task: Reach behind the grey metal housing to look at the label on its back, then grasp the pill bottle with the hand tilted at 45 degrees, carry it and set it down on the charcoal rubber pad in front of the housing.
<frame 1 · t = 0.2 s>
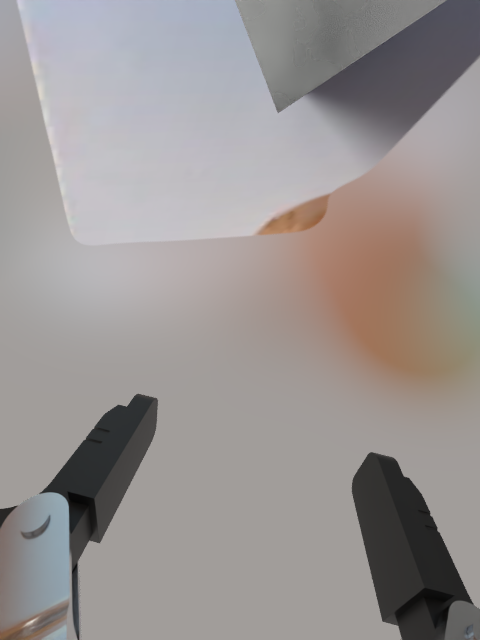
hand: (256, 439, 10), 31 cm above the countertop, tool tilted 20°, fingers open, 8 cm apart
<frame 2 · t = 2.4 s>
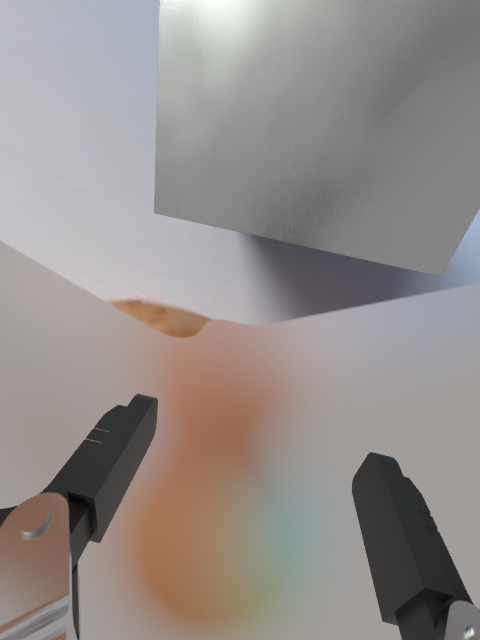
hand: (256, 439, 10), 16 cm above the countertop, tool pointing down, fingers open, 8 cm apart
housing: (303, 156, 19), on the countertop
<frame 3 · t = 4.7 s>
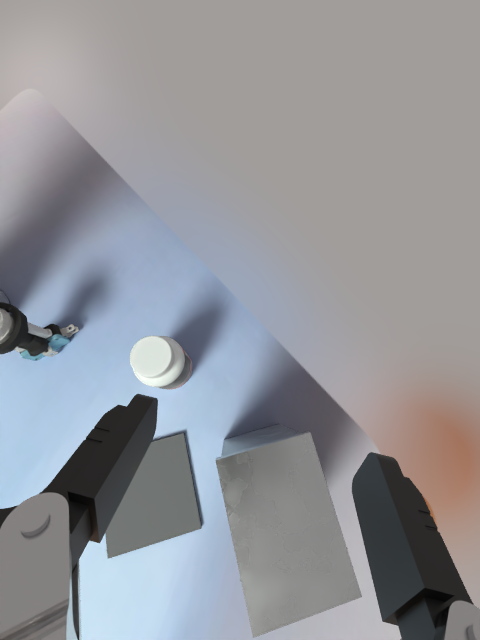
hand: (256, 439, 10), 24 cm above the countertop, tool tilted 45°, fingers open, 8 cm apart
pill bottle: (172, 368, 35), on the countertop
pad: (149, 490, 30), on the countertop
housing: (263, 476, 31), on the countertop
push button: (57, 343, 35), on the countertop
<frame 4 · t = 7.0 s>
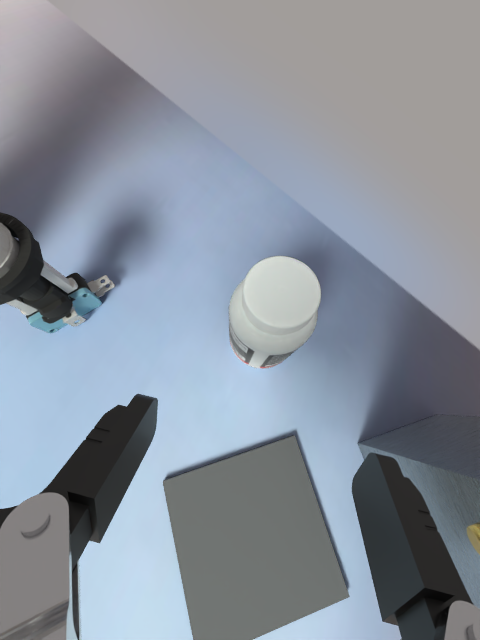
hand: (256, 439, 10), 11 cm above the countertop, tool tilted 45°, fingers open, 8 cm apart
pill bottle: (260, 338, 23), on the countertop
pad: (251, 533, 18), on the countertop
housing: (429, 499, 19), on the countertop
push button: (82, 307, 23), on the countertop
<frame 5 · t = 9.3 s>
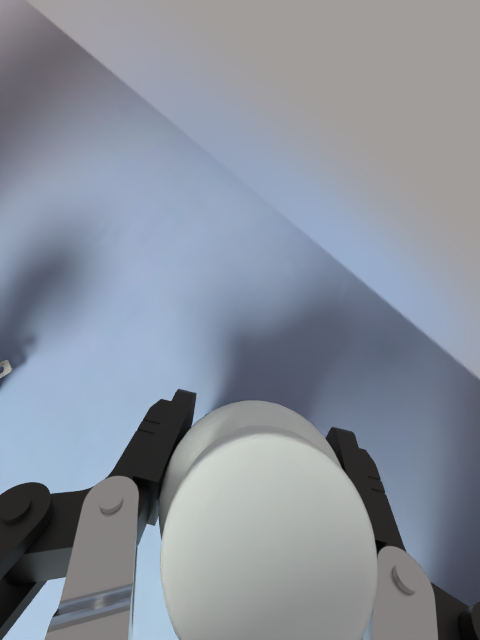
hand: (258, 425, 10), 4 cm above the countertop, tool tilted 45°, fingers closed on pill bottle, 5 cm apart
pill bottle: (242, 454, 14), on the countertop, touching gripper
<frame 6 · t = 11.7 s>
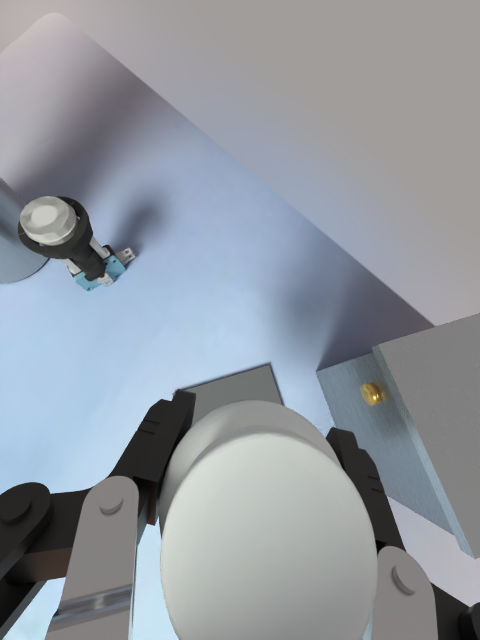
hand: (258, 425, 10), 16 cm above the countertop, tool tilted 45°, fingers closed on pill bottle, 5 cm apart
pill bottle: (242, 454, 14), point 12 cm above the countertop, touching gripper
pad: (235, 430, 25), on the countertop
housing: (366, 410, 26), on the countertop
push button: (110, 272, 30), on the countertop
when the fingers open (6 cm above the countertop, at t = 14.2 s): pill bottle stays where it is, resting on pad.
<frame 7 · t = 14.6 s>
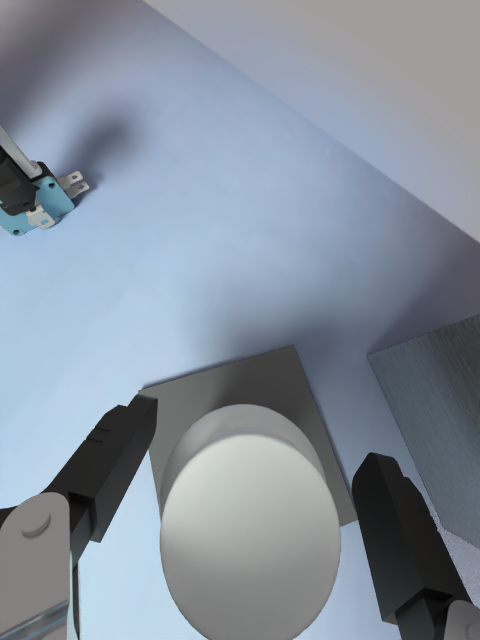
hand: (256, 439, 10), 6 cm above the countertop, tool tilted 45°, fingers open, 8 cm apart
pill bottle: (238, 453, 15), resting on pad
pad: (241, 450, 15), on the countertop
housing: (451, 416, 16), on the countertop
push button: (52, 212, 20), on the countertop
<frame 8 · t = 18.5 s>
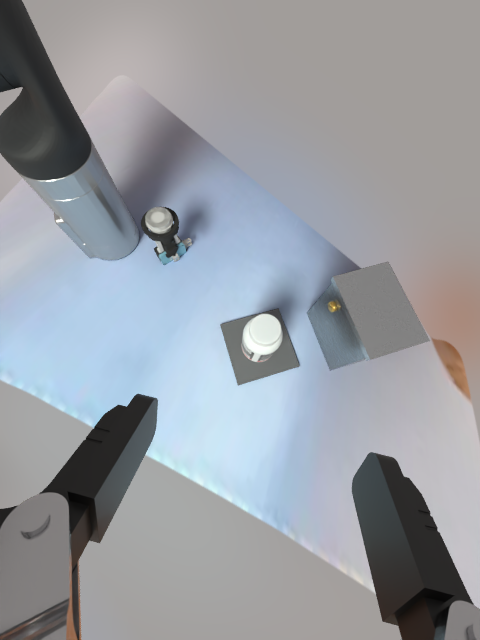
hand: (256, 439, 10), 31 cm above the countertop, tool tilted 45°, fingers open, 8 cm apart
pill bottle: (257, 345, 42), resting on pad
pad: (258, 345, 42), on the countertop
housing: (337, 334, 43), on the countertop
push button: (176, 254, 47), on the countertop
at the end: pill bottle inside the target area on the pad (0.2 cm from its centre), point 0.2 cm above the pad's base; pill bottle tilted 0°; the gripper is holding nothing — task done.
